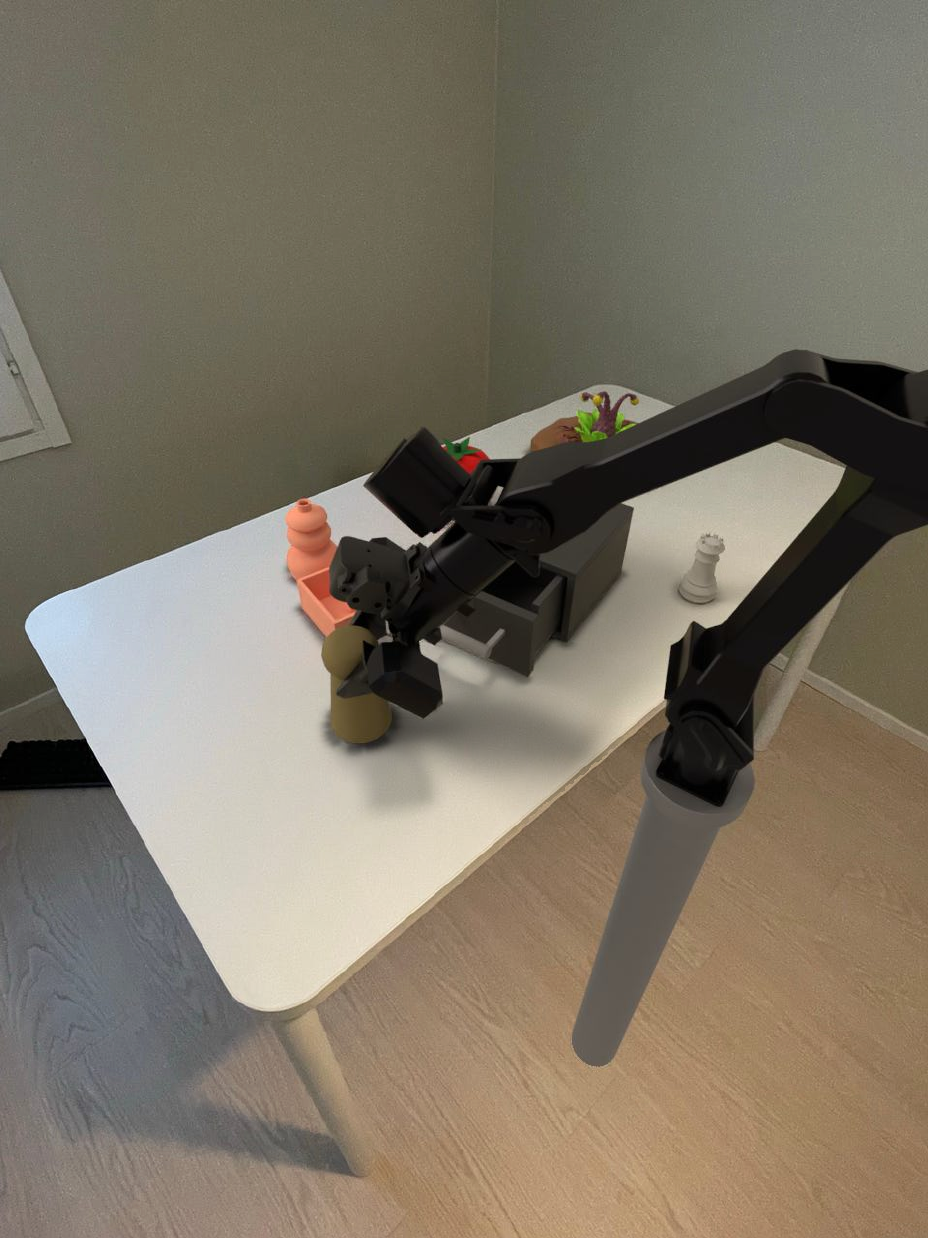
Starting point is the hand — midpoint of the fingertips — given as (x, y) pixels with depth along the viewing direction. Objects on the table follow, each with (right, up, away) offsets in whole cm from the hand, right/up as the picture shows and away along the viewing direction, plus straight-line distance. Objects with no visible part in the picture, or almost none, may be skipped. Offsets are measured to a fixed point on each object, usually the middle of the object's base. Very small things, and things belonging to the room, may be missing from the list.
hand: (339, 674), depth 65 cm
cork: (+1, -5, +5) cm, 7 cm away
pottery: (-4, +8, +20) cm, 22 cm away
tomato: (+11, +20, +33) cm, 40 cm away
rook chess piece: (+40, +8, +20) cm, 45 cm away
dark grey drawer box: (+21, +9, +21) cm, 31 cm away
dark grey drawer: (+16, +4, +14) cm, 21 cm away
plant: (+32, +30, +44) cm, 62 cm away
